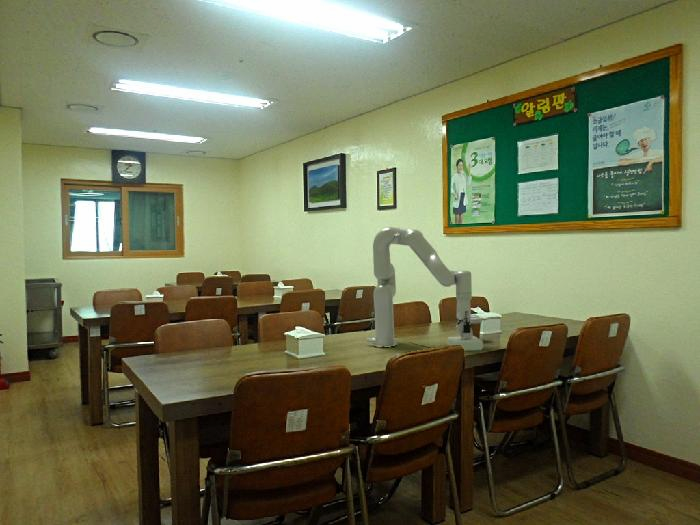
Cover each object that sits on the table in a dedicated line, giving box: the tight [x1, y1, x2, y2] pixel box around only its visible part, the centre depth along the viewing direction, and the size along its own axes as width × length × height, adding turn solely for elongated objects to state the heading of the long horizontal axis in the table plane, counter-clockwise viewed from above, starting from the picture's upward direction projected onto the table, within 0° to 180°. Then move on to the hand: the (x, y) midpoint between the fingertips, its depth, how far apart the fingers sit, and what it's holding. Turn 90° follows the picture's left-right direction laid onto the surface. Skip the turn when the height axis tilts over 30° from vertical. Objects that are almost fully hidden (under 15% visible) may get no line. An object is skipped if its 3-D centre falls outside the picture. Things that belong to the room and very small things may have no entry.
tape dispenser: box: [455, 320, 473, 340], centre depth 260 cm, size 6×7×10 cm
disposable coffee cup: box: [465, 316, 482, 339], centre depth 275 cm, size 10×10×12 cm
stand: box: [446, 336, 484, 351], centre depth 260 cm, size 14×14×4 cm
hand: (464, 331), depth 260 cm, fingers open, 9 cm apart
